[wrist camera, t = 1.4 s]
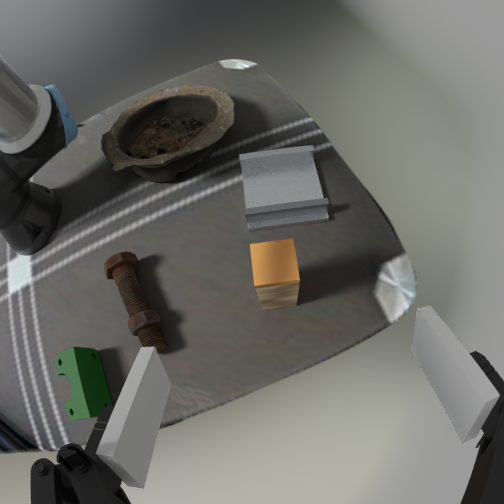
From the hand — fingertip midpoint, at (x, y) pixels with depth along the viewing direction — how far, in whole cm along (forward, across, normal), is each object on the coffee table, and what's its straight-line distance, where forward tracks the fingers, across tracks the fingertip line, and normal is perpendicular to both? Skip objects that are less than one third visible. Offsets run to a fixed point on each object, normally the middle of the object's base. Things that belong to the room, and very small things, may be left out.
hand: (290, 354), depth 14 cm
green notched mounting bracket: (+18, -30, -20) cm, 40 cm away
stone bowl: (+48, -15, +11) cm, 51 cm away
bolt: (+26, -20, -11) cm, 35 cm away
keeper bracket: (+37, +3, 0) cm, 37 cm away
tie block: (+26, 0, -11) cm, 28 cm away
